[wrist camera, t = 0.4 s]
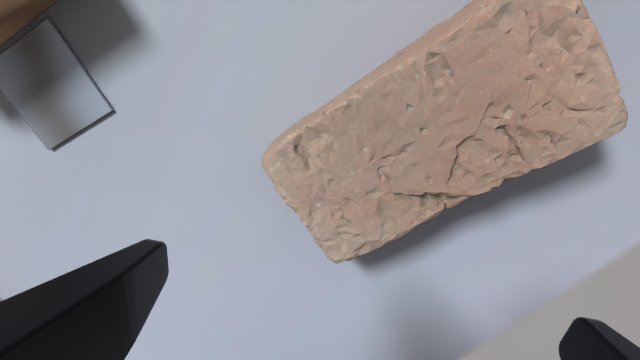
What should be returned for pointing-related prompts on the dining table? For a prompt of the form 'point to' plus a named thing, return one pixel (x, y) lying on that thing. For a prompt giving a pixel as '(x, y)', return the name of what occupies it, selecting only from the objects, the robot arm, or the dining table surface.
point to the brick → (448, 122)
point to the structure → (46, 76)
